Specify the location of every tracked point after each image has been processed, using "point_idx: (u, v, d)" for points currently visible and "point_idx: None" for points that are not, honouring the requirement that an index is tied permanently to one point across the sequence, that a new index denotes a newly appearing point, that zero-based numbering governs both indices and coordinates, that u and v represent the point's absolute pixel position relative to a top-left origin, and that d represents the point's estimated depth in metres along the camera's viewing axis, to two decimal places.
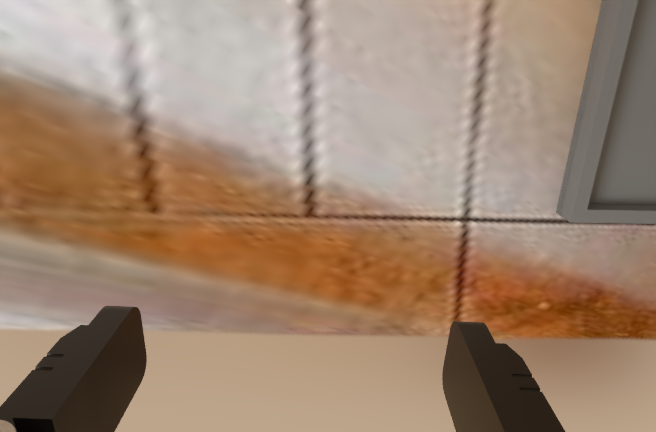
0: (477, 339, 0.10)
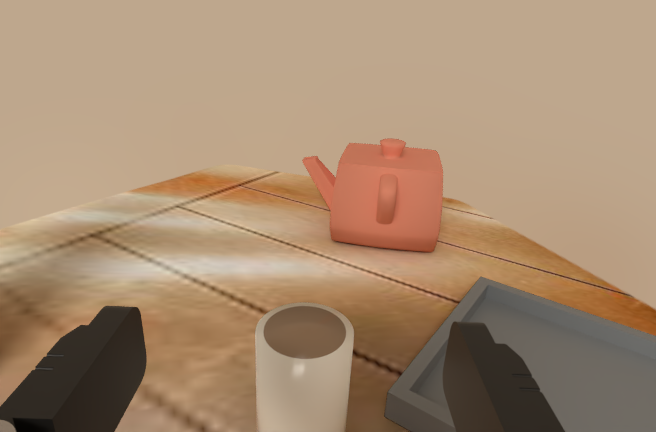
0: (477, 339, 0.10)
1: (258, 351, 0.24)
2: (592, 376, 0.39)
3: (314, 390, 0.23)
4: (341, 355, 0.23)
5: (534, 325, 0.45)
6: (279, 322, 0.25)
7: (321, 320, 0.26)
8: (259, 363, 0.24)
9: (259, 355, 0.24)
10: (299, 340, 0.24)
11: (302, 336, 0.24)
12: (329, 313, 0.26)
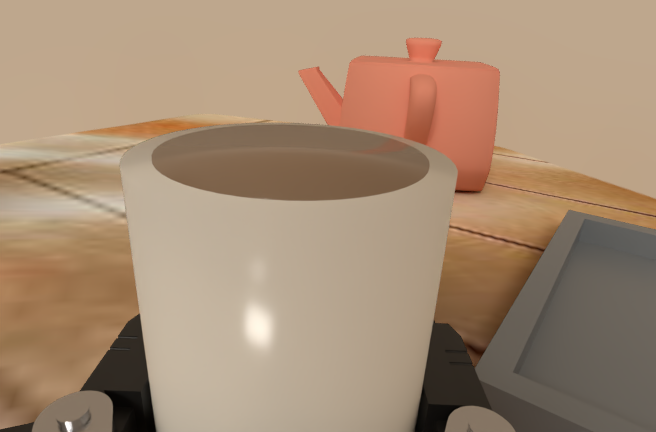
0: None
1: (125, 200, 0.07)
2: None
3: (329, 332, 0.06)
4: (434, 198, 0.06)
5: None
6: (215, 139, 0.08)
7: (344, 141, 0.09)
8: (132, 243, 0.07)
9: (128, 214, 0.07)
10: (273, 164, 0.07)
11: (286, 160, 0.07)
12: (365, 134, 0.09)
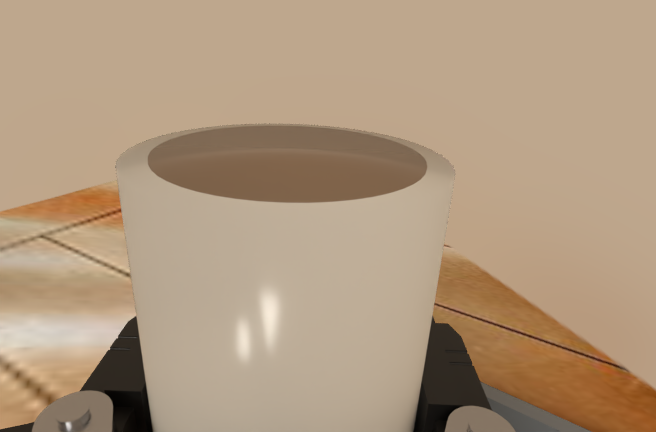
0: None
1: (121, 202, 0.07)
2: None
3: (326, 335, 0.06)
4: (431, 201, 0.06)
5: None
6: (212, 140, 0.08)
7: (342, 142, 0.08)
8: (128, 246, 0.07)
9: (124, 216, 0.07)
10: (270, 166, 0.07)
11: (282, 162, 0.07)
12: (363, 135, 0.09)
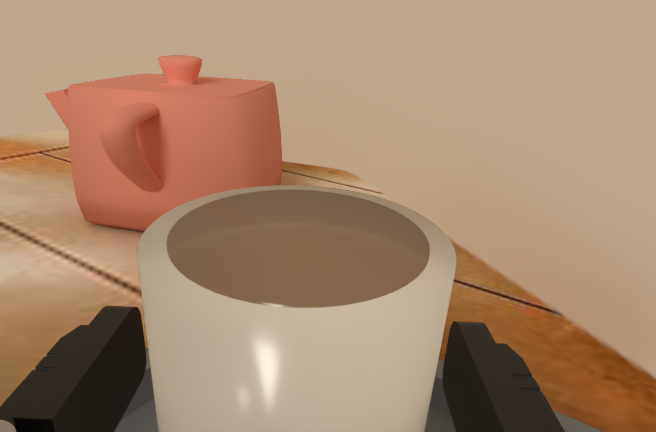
0: (477, 339, 0.10)
1: (142, 290, 0.07)
2: None
3: (335, 426, 0.06)
4: (434, 299, 0.06)
5: None
6: (225, 215, 0.09)
7: (348, 215, 0.09)
8: (148, 330, 0.07)
9: (144, 303, 0.07)
10: (282, 255, 0.07)
11: (293, 246, 0.08)
12: (368, 203, 0.10)
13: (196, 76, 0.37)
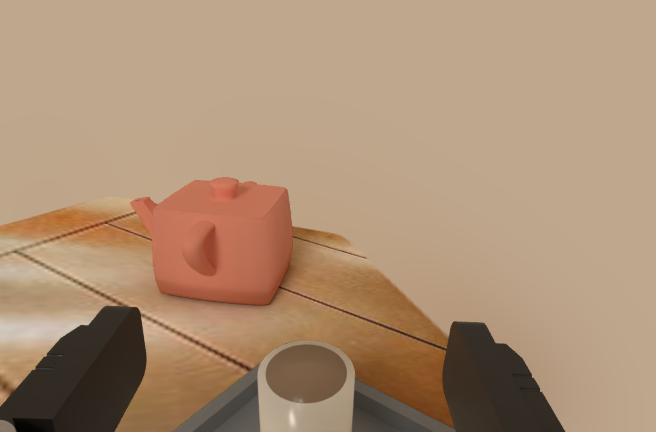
0: (477, 339, 0.10)
1: (261, 395, 0.24)
2: None
3: None
4: (343, 397, 0.24)
5: None
6: (281, 363, 0.26)
7: (322, 359, 0.26)
8: (263, 406, 0.24)
9: (262, 399, 0.24)
10: (301, 383, 0.24)
11: (304, 378, 0.25)
12: (329, 351, 0.27)
13: (235, 193, 0.55)
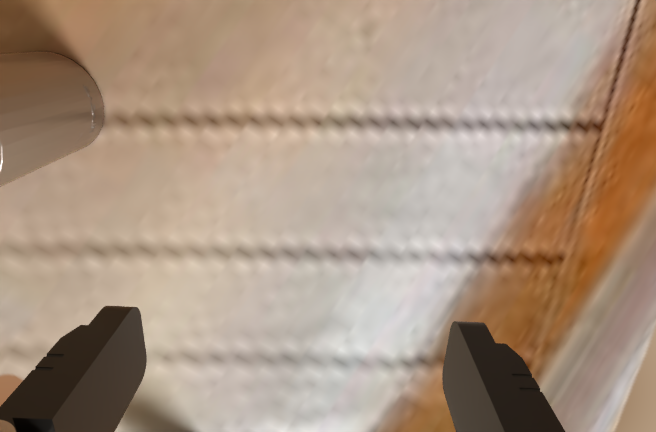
0: (477, 339, 0.10)
1: None
2: None
3: None
4: None
5: None
6: None
7: None
8: None
9: None
10: None
11: None
12: None
13: None
